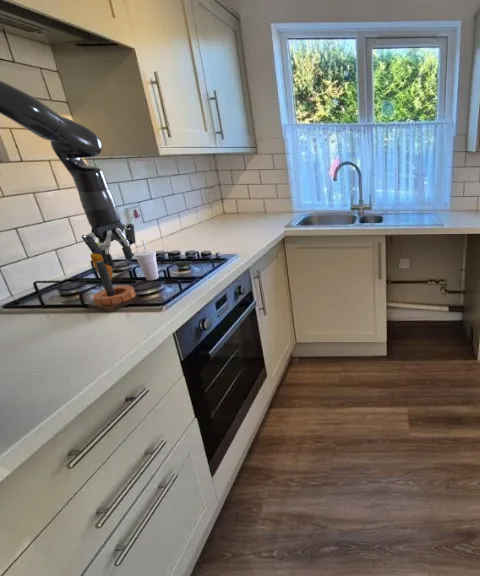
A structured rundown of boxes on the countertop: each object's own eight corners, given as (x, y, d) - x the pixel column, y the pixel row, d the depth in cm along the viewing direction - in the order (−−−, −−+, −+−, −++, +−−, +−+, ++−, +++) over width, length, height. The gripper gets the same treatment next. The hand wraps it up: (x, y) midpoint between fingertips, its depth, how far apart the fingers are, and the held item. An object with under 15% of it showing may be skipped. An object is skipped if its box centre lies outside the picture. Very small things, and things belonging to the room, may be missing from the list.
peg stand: (109, 312, 104) (93, 268, 98) (89, 308, 107) (72, 265, 101) (139, 299, 111) (125, 258, 106) (119, 296, 114) (105, 255, 109)
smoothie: (166, 277, 129) (155, 239, 123) (147, 283, 124) (135, 244, 118) (157, 274, 132) (146, 237, 127) (138, 279, 127) (126, 241, 122)
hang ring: (110, 307, 103) (107, 301, 103) (87, 302, 107) (85, 296, 106) (142, 293, 112) (141, 288, 111) (121, 289, 115) (119, 284, 115)
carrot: (120, 281, 126) (106, 240, 120) (105, 287, 122) (90, 244, 116) (112, 279, 128) (98, 238, 122) (97, 284, 124) (81, 242, 118)
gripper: (81, 212, 95) (104, 272, 102) (132, 201, 107) (150, 255, 114) (63, 211, 97) (87, 269, 104) (115, 200, 109) (134, 253, 116)
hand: (120, 262), depth 109 cm, fingers open, 5 cm apart
